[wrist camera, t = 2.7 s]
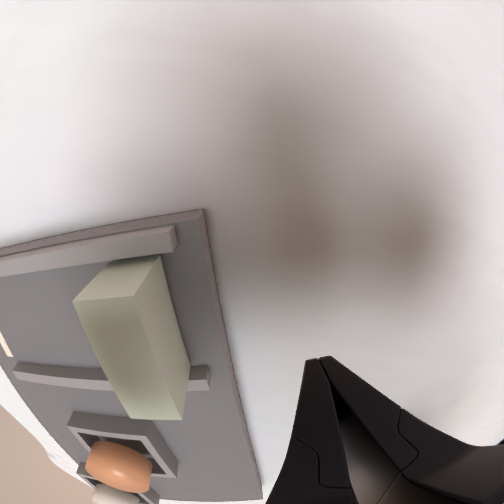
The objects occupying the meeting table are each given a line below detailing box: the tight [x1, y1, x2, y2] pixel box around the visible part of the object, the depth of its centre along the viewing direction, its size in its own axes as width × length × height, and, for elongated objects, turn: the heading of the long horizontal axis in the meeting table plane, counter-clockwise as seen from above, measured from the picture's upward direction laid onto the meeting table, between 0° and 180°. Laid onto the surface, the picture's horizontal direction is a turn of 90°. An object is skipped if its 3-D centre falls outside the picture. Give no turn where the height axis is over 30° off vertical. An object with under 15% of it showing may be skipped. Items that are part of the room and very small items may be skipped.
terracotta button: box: [85, 441, 153, 493], centre depth 14 cm, size 5×5×2 cm
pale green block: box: [72, 255, 191, 420], centre depth 11 cm, size 2×6×4 cm, turn 7°
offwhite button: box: [92, 484, 140, 504], centre depth 17 cm, size 5×5×2 cm
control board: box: [0, 209, 263, 504], centre depth 16 cm, size 18×28×4 cm, turn 7°
